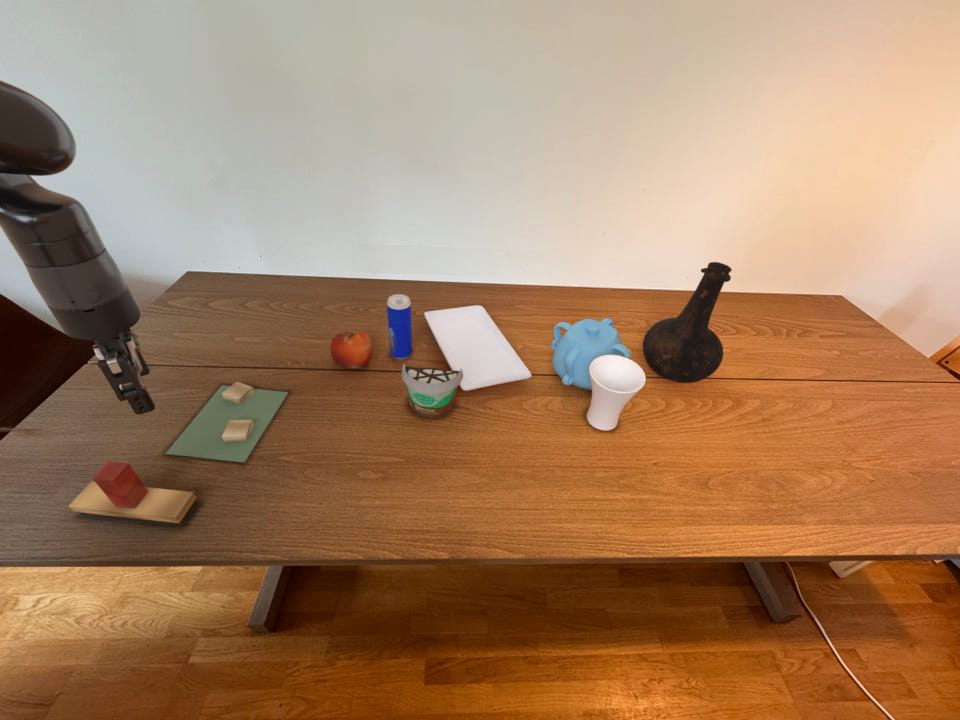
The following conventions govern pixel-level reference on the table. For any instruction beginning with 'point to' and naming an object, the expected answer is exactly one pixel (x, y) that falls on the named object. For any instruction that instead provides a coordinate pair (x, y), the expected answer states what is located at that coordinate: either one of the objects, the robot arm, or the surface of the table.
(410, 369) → the food container
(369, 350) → the tomato
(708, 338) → the glass bottle
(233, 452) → the mat
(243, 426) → the chip
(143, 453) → the table surface
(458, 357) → the tray
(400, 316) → the beverage can
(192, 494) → the brush
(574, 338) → the decorative pot
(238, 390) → the chip
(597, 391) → the cup
